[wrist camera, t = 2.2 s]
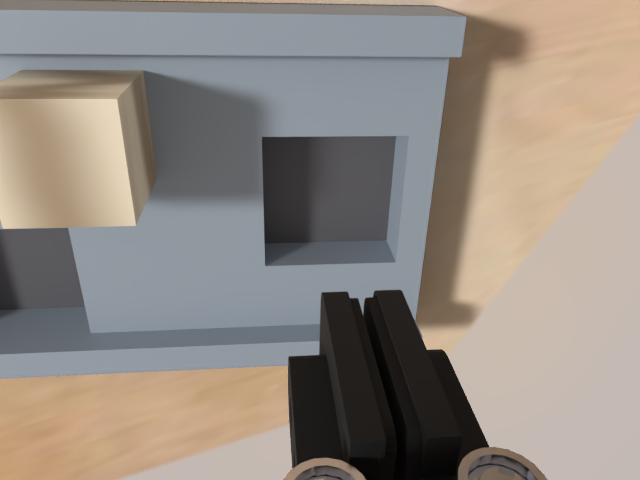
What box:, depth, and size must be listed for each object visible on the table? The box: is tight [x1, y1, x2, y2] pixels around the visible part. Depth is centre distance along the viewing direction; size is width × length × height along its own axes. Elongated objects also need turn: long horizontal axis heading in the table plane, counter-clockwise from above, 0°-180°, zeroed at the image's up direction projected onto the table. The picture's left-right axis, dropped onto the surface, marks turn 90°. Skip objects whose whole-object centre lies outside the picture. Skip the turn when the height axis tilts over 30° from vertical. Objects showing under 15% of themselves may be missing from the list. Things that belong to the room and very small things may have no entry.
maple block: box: [0, 70, 157, 229], centre depth 23 cm, size 5×5×5 cm
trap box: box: [0, 0, 467, 379], centre depth 27 cm, size 32×18×6 cm, turn 89°
